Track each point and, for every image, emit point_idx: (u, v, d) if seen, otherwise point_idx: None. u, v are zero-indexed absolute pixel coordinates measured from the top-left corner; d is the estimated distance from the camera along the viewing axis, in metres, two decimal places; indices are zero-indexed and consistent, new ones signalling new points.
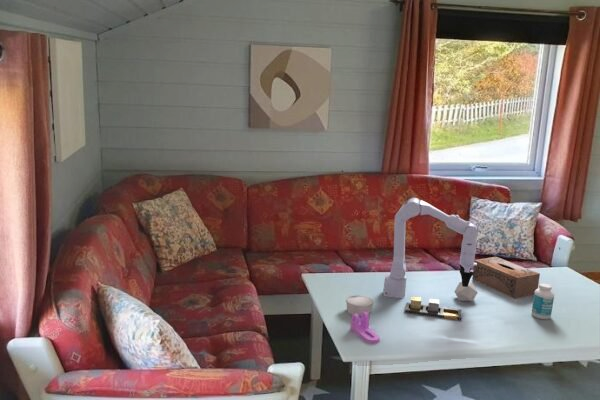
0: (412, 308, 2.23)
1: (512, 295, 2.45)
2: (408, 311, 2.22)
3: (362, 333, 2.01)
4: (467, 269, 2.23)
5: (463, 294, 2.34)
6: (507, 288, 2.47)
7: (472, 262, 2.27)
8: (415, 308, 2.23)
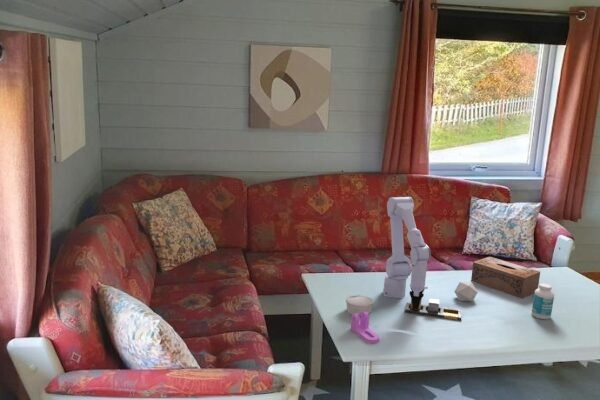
0: (412, 308, 2.23)
1: (519, 295, 2.45)
2: (408, 311, 2.22)
3: (362, 333, 2.01)
4: (416, 293, 2.16)
5: (463, 294, 2.34)
6: (512, 289, 2.47)
7: (422, 285, 2.20)
8: None
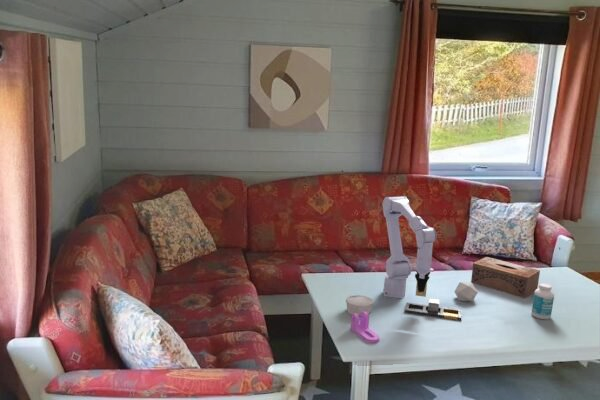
0: (417, 292, 2.21)
1: (522, 295, 2.45)
2: (408, 311, 2.22)
3: (362, 333, 2.01)
4: (422, 275, 2.14)
5: (463, 294, 2.34)
6: (515, 289, 2.47)
7: (428, 268, 2.18)
8: (420, 292, 2.21)
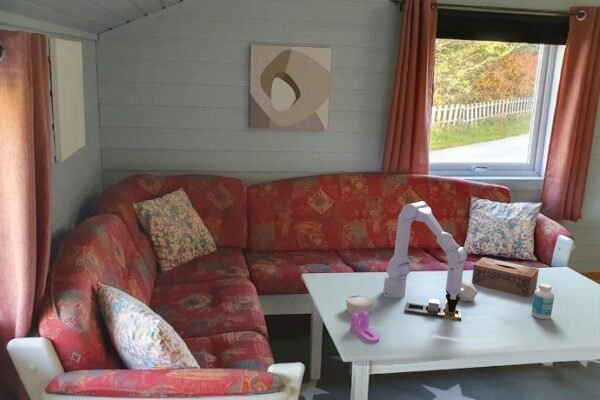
0: (447, 313, 2.19)
1: (525, 295, 2.46)
2: (408, 311, 2.22)
3: (362, 333, 2.02)
4: (453, 296, 2.12)
5: (463, 294, 2.34)
6: (518, 289, 2.47)
7: (459, 288, 2.16)
8: (449, 312, 2.19)
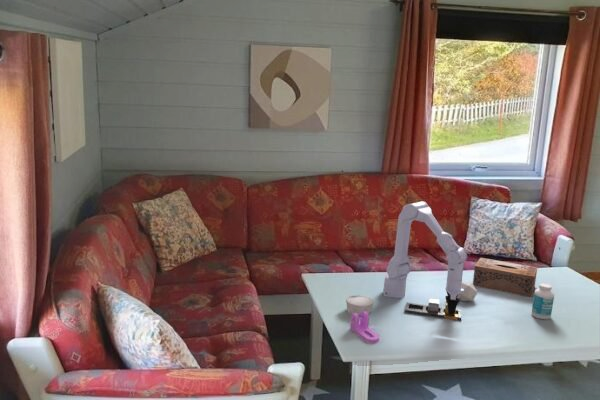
0: (447, 313, 2.20)
1: (528, 294, 2.46)
2: (408, 311, 2.22)
3: (362, 332, 2.02)
4: (453, 296, 2.12)
5: (463, 294, 2.34)
6: (520, 289, 2.48)
7: (459, 288, 2.16)
8: None
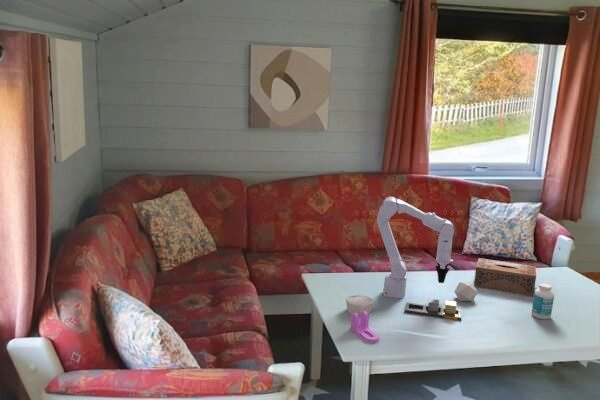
0: (447, 313, 2.20)
1: (530, 294, 2.47)
2: (408, 311, 2.22)
3: (361, 332, 2.02)
4: (443, 265, 2.26)
5: (463, 294, 2.34)
6: (522, 288, 2.48)
7: (448, 259, 2.31)
8: (449, 312, 2.19)
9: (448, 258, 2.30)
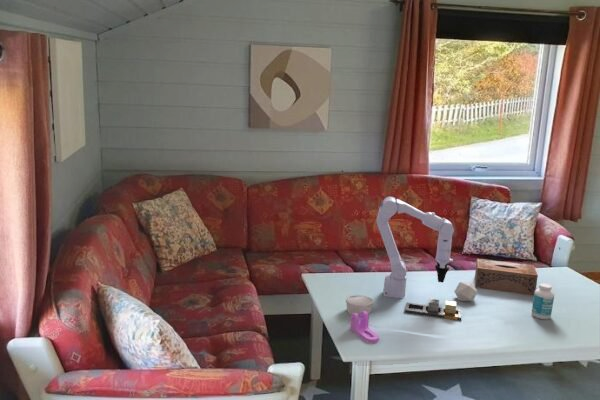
0: (447, 313, 2.20)
1: (531, 293, 2.48)
2: (408, 311, 2.22)
3: (361, 332, 2.02)
4: (442, 265, 2.27)
5: (463, 294, 2.34)
6: (524, 288, 2.49)
7: (448, 258, 2.31)
8: (449, 312, 2.19)
9: (448, 257, 2.31)
